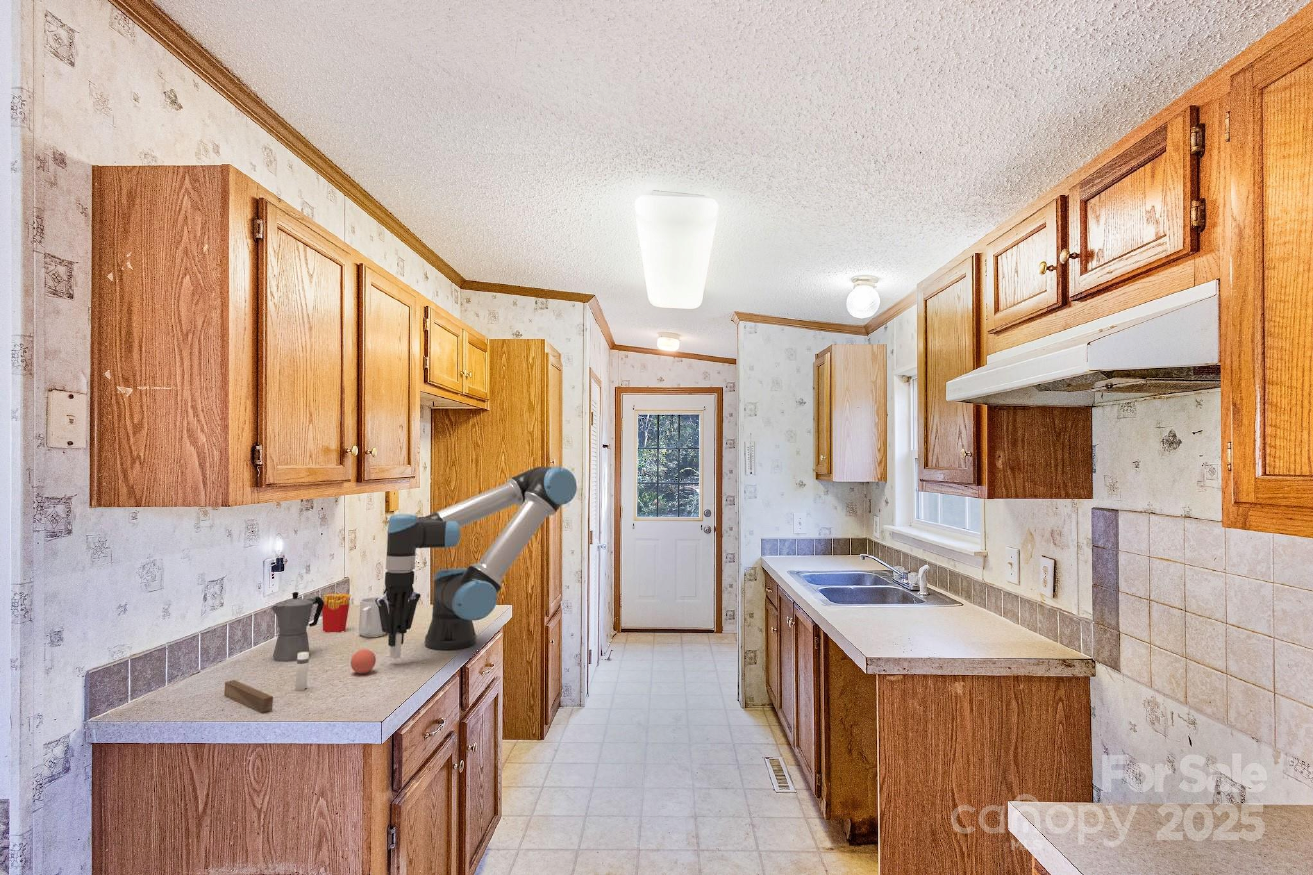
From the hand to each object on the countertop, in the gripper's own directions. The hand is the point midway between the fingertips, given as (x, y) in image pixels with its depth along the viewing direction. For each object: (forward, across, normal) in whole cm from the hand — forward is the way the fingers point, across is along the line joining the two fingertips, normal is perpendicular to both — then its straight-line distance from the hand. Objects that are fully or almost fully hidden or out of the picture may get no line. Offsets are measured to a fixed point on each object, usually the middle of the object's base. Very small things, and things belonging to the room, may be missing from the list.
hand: (395, 657), depth 177 cm
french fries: (+2, -10, -46) cm, 47 cm away
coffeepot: (+2, +12, -28) cm, 31 cm away
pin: (+2, +25, 0) cm, 25 cm away
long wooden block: (+2, +37, 0) cm, 37 cm away
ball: (-1, +9, 0) cm, 9 cm away
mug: (+2, -14, -32) cm, 35 cm away
